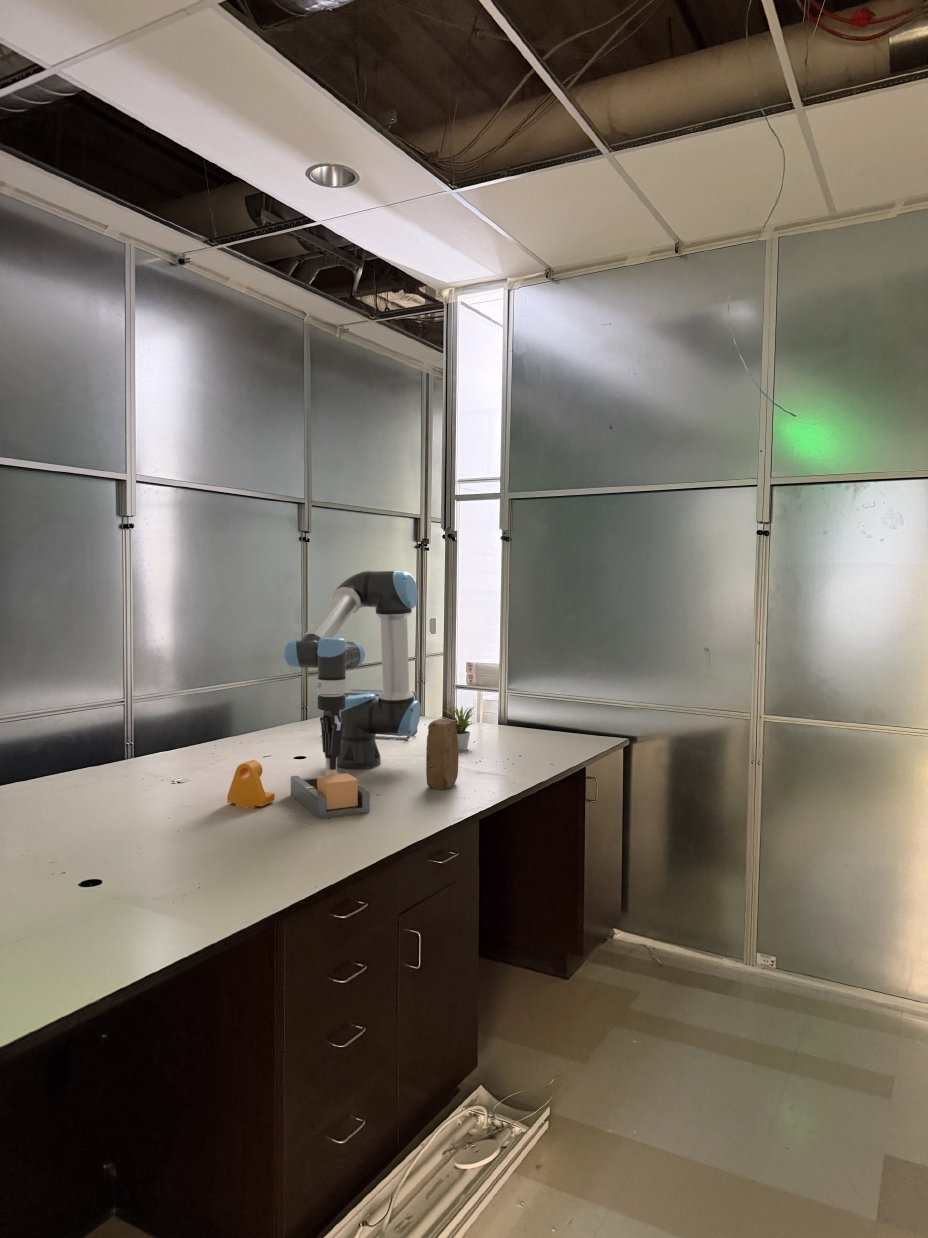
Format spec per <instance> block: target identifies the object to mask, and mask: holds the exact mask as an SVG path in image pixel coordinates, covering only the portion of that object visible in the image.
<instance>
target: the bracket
mask: <svg viewBox="0 0 928 1238" xmlns="http://www.w3.org/2000/svg"><path fill="white" fill-rule="evenodd" d="M262 774H263V767H262V764H261V763H260V762H259V761H258V760H255V759H251V760H248V761H246V762H243V763H241V764H239V765H238V766H237V767H236V769H235V772H234V775H233V777H232V781H231V784H230V787H229V790H228V793H227V794H226V795H227V799H226V800H227V802H226V803H228V804H235V807H237V806H238V808H247V807H248V809H249V808H250V809H256V808H257V807H264V806H266V805H268V804H270V803H272V802H273V801H275V796H276V795H275V792H271V791H265V789H264V787H263V783H262V781H261V777H262Z"/></svg>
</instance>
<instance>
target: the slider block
mask: <svg viewBox="0 0 928 1238" xmlns="http://www.w3.org/2000/svg"><path fill="white" fill-rule="evenodd" d="M316 777H317V791H318V792H320V793H321V794H322V795H324V796H325V797H326V810H329V809H337V808H344V807H352V806H358V785H359V782H358V781H359V780H358V779H357V778H356V777H354V776H352V775H351V774H349V773H348V772H347V773H341V774H337V775H327V776H326V775H319V776H316Z"/></svg>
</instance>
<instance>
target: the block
mask: <svg viewBox="0 0 928 1238" xmlns="http://www.w3.org/2000/svg"><path fill="white" fill-rule="evenodd" d="M427 730H428V732H427V735H426V759H425V761H426V763H425V765H426V766H425V770H426V773H425V775H426V785H427V787H429V788H430V789H431V788H432V789H435V790H447V789H448V790H449V789H451V788H453V787H454V786H455V784H456V782H457V780H458V776H459V775H458V774H459V751H458V736H457V732H456V723H455V720H454V719H451V718H448V719H442V718H438V719H435V720H433V721H431V722H430V723H428V726H427Z"/></svg>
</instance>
